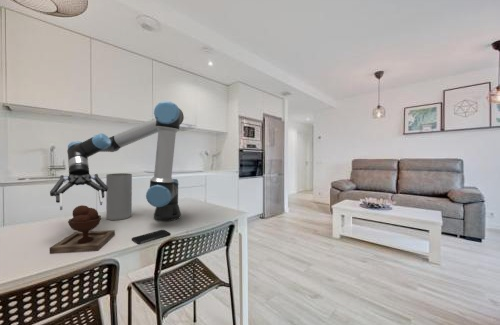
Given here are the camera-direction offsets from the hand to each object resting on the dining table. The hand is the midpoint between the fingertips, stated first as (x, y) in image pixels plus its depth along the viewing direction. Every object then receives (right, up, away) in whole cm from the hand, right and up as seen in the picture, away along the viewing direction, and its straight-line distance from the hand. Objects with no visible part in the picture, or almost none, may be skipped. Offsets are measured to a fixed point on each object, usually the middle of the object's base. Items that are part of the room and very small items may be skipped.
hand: (82, 205), depth 92 cm
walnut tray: (+4, -15, -3) cm, 16 cm away
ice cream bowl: (+4, -14, -3) cm, 15 cm away
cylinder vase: (-4, -13, +32) cm, 35 cm away
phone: (+28, -16, +5) cm, 32 cm away
